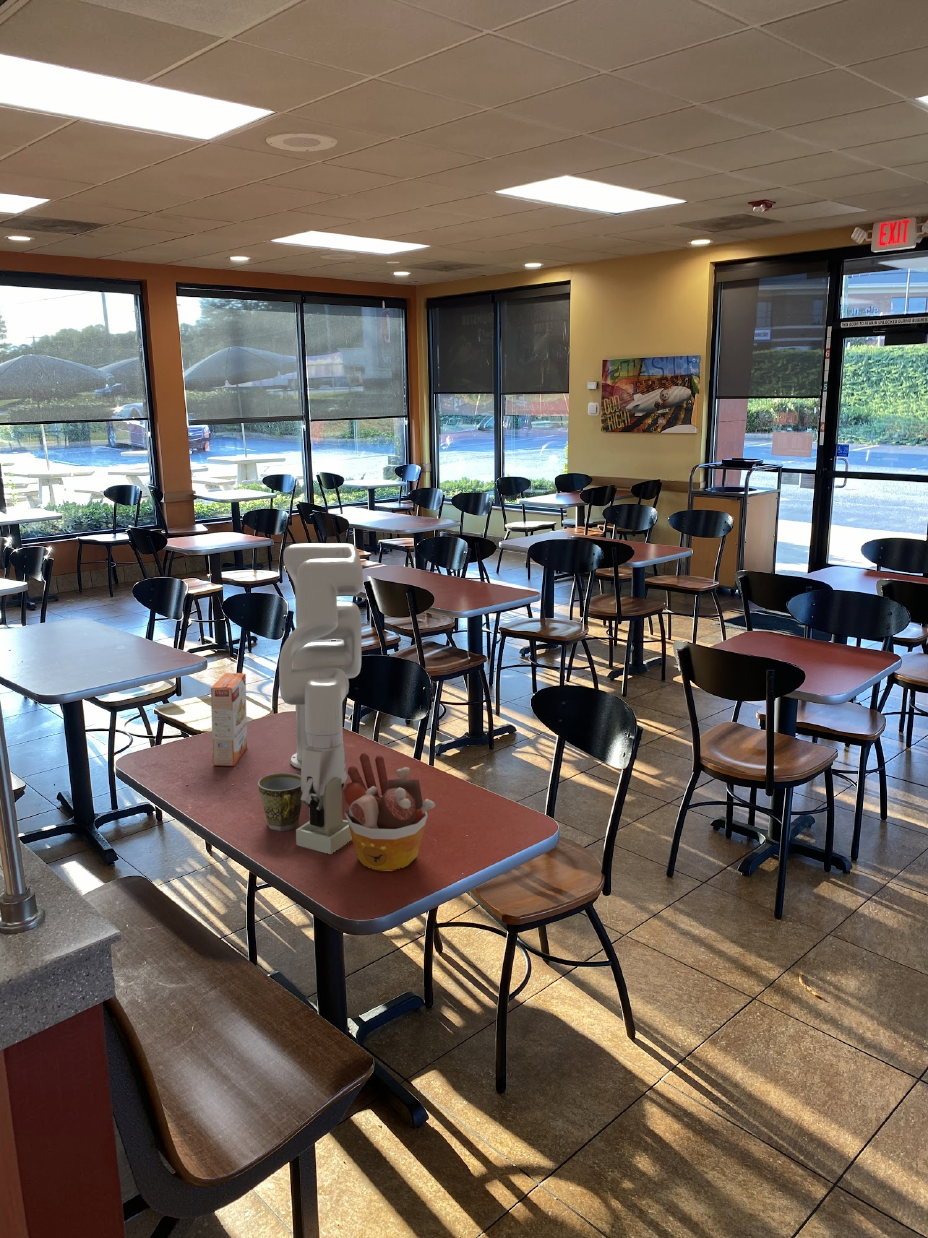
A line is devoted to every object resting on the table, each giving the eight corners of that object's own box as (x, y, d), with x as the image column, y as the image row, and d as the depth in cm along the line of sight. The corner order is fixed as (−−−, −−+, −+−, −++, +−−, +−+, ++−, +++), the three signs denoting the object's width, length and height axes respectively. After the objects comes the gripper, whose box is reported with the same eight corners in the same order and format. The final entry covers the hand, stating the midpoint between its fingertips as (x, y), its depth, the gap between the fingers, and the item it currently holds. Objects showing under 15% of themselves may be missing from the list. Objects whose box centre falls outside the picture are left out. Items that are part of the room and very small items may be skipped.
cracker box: (236, 767, 233) (233, 687, 229) (212, 766, 234) (208, 687, 229) (249, 747, 247) (246, 672, 243) (226, 747, 247) (223, 671, 243)
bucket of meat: (446, 868, 184) (447, 774, 179) (373, 890, 175) (372, 792, 170) (396, 830, 200) (396, 743, 196) (327, 848, 191) (325, 758, 187)
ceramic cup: (255, 818, 204) (253, 776, 202) (300, 811, 208) (299, 770, 206) (267, 843, 193) (266, 798, 191) (314, 835, 197) (313, 791, 195)
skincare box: (343, 833, 193) (343, 779, 191) (327, 840, 190) (326, 784, 188) (323, 824, 198) (323, 770, 195) (307, 831, 194) (307, 776, 192)
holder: (321, 829, 200) (321, 814, 199) (354, 837, 196) (354, 822, 195) (296, 845, 192) (296, 829, 192) (330, 854, 188) (330, 838, 188)
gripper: (333, 723, 198) (334, 801, 202) (283, 747, 184) (285, 832, 188) (362, 729, 195) (363, 809, 199) (313, 754, 180) (315, 840, 184)
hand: (325, 819), depth 193 cm, fingers closed on skincare box, 5 cm apart
